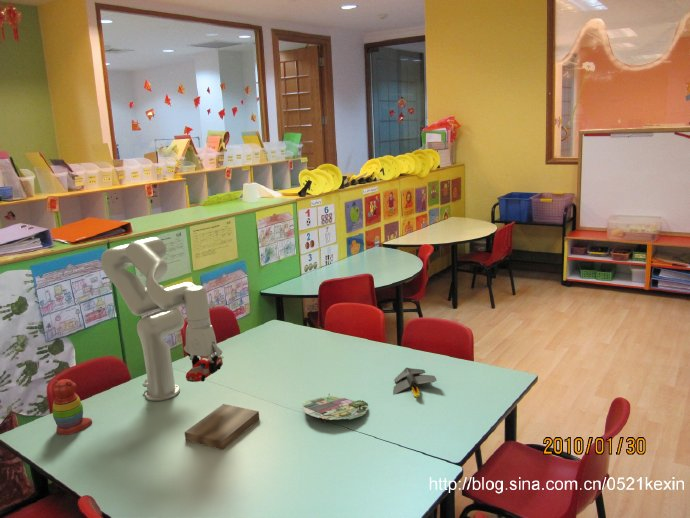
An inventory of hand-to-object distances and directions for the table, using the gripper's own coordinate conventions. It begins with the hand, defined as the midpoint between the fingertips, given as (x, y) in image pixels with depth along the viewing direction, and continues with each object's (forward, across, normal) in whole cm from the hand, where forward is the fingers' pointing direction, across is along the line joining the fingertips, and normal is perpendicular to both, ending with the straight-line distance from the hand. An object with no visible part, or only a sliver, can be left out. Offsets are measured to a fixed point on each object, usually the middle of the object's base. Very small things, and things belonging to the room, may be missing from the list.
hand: (205, 370), depth 200 cm
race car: (+1, 0, 0) cm, 1 cm away
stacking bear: (+16, -40, -25) cm, 50 cm away
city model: (+17, +42, +16) cm, 48 cm away
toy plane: (+17, +59, +43) cm, 75 cm away
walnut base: (+16, +12, -8) cm, 21 cm away
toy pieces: (+16, -30, +37) cm, 50 cm away
